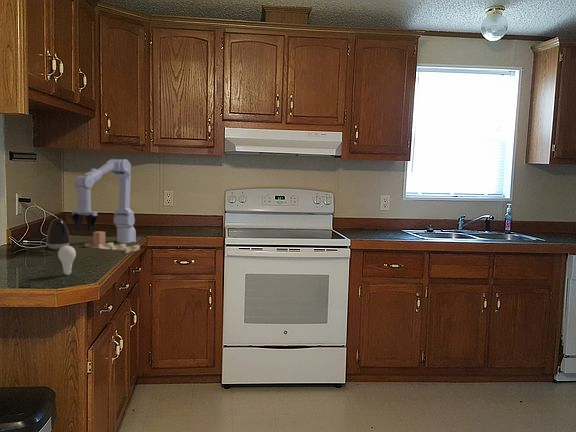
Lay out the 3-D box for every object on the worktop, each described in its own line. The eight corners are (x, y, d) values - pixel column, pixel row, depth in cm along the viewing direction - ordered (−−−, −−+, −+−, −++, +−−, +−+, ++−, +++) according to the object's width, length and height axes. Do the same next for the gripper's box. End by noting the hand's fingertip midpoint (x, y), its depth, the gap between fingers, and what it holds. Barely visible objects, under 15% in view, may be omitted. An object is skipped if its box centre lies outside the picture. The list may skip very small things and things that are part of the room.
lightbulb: (75, 272, 191) (74, 244, 190) (77, 276, 186) (76, 246, 185) (57, 274, 189) (57, 245, 188) (59, 277, 183) (58, 247, 182)
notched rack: (99, 246, 255) (99, 241, 255) (139, 249, 246) (139, 244, 246) (84, 248, 246) (84, 243, 246) (125, 252, 237) (125, 247, 236)
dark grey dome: (46, 252, 235) (45, 219, 234) (47, 248, 245) (46, 217, 243) (69, 251, 239) (69, 219, 238) (70, 247, 249) (69, 217, 247)
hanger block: (99, 245, 252) (98, 231, 251) (105, 245, 250) (105, 231, 249) (93, 246, 248) (93, 232, 247) (99, 246, 246) (99, 232, 246)
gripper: (66, 201, 237) (67, 230, 238) (88, 202, 230) (89, 232, 231) (78, 200, 243) (79, 228, 244) (100, 201, 236) (101, 230, 238)
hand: (84, 230), depth 238 cm, fingers open, 7 cm apart
